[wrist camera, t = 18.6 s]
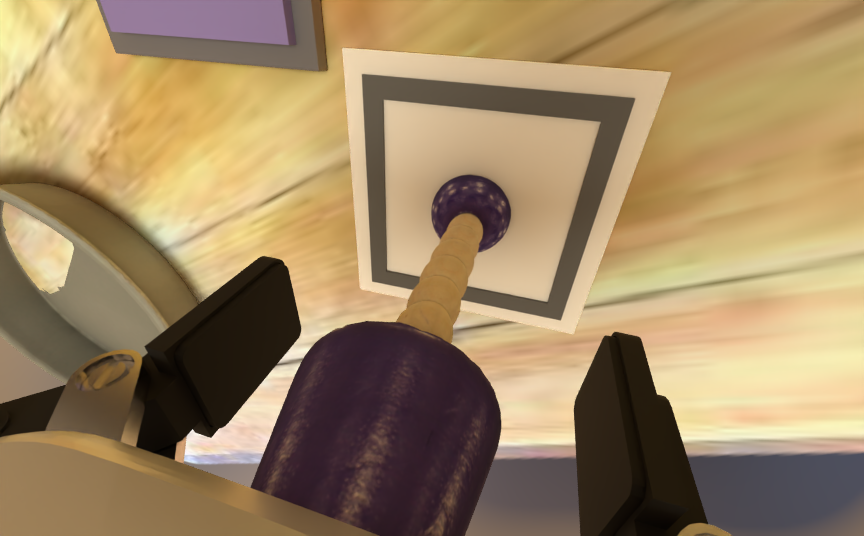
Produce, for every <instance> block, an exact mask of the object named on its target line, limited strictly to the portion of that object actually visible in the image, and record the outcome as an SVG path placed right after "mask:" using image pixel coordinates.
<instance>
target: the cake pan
mask: <svg viewBox="0 0 864 536" xmlns="http://www.w3.org/2000/svg"><path fill="white" fill-rule="evenodd" d="M4 202H7V203H9V204H11V205H13V206H15V207H17V208H19V209H21V210H23V211H24V212H26V213H28V214H30V215H32V216H33V217H35V218H36V219H38V220H40V221H41V222H43V223H45V224H46V225H48V226H49V227H51V228H52V229H54V230H55V231H57V232H58V233H60V234H61V235H62V236H64V237H65V238H66V239H68V240H69V241H71V242H72V243H73V246H74V252H73V256H72V260H71V263H70V267H69V270H68V274H67V278H66V281H65V285H64V287H62V288H61V287H58V288H59V290H60V291H57V292H55V293H52V294H49V293H48V292H46V291H45V290H44V289H43V288H42V289H43V290H44V291H45V292H44V291H41V290H39V289H38V288H37V286H36V285H35V284H34V283H33V282H32V280H31V279H30V278H29V277H28V275H27V274H26V272H25V271H24V269H23V268H22V266H21V265H20V263H19V262H18V260H17V258H16V256H15V254H14V252H13V250H12V248H11V246H10V244H9V242H8V239H7V237H6V234H5V231H6V229H5V228H4V226H3V220H2V210H3V205H4ZM197 305H198V303H197V301H196V300H195V298H194V296H193V294H192V293H191V291H190V290H189V288H188V287H187V285H186V284H185V283H184V281H183V280H182V279H181V277H180V276H179V275H178V273H177V272H176V271H175V270H174V269H173V267H172V266H171V265H170V264H169V263H168V262H167V261H166V259H165V258H164V257H163V256H162V255H161V254H160V253H159V252H158V251H157V250H156V249H155V248H154V247H153V246H152V245H151V244H150V243H149V242H147V241H146V240H145V239H144V238H143V237H142V236H141V235H140V234H138V233H137V232H136V231H135V230H134V229H132V228H131V227H130V226H128V225H127V224H126V223H124V222H123V221H122V220H120V219H119V218H118V217H116V216H115V215H113V214H112V213H110V212H109V211H107V210H106V209H104V208H102V207H101V206H99V205H97V204H96V203H94V202H92V201H90V200H88V199H86V198H84V197H82V196H80V195H78V194H76V193H73V192H71V191H68V190H66V189H63V188H60V187H56V186H52V185H48V184H42V183H21V184H4V185H0V336H1V337H2V338H3V339H4V340H6V341H7V342H8V343H9V344H10V345H12V346H13V347H14V348H15V349H16V350H18V351H19V352H20V353H22V354H23V355H24V356H25V357H27V358H28V359H29V360H31V361H32V362H33V363H35V364H37V365H38V366H39V367H41V368H42V369H43V370H45V371H46V372H48V373H49V374H51V375H52V376H54V377H56V378H57V379H59V380H60V381H62V382H63V383H65V384H67V381H68V380H69V378H70V377H71V375H72V374H73V373H74V372H75V371H76V370H77V369H78V368H79V367H80V366H82V365H83V364H85V363H86V362H88V361H89V360H91V359H93V358H95V357H97V356H99V355H101V354H104V353H108V352H111V351H115V350H122V349H128V350H134V351H136V352H139V354H140V355H141V356H142V357H143V356H145V355H146V354H147V353H148V352H147V351H146V349H145V347H144V346H145V345H147V344H148V343H149V342H151V341H152V340H153V339H155V338H156V337H157V336H158V335H160V334H161V333H162V332H164V331H165V330H166V329H167V328H169V327H170V326H171V325H173V324H174V323H175V322H177V321H178V320H179V319H180V318H182V317H183V316H184V315H186V314H187V313H188V312H189V311H191V310H192V309H193V308H195V307H196V306H197Z"/></svg>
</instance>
